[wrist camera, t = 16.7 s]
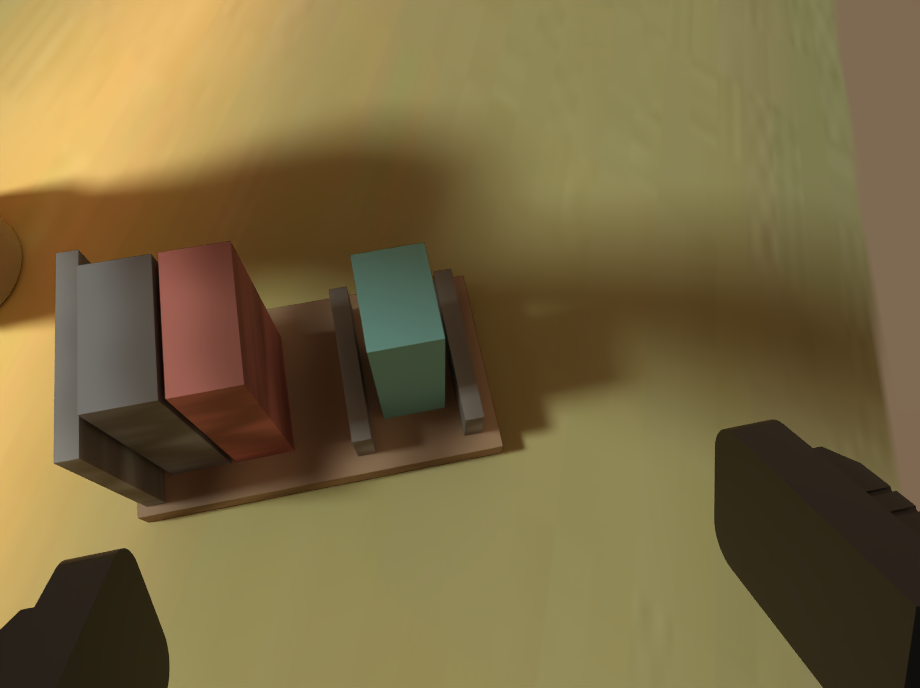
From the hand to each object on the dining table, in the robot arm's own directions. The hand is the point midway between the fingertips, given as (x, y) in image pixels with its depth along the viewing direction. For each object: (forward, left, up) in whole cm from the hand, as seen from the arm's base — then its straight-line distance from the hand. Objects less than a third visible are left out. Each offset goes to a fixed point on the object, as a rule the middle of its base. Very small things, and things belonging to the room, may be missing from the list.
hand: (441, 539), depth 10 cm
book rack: (-14, +4, -31) cm, 34 cm away
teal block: (-11, +8, -29) cm, 32 cm away
